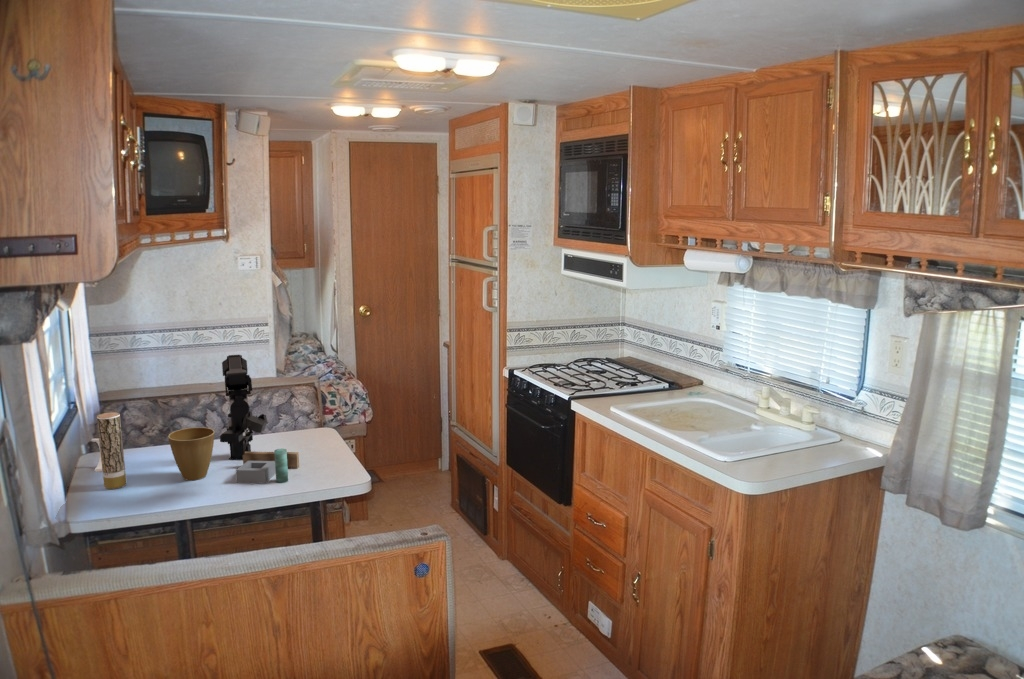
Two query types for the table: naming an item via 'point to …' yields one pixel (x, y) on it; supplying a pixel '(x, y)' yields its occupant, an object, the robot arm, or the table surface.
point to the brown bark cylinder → (111, 450)
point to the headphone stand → (99, 467)
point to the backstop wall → (272, 458)
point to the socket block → (255, 472)
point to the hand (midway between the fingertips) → (242, 454)
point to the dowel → (281, 465)
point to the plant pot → (192, 451)
